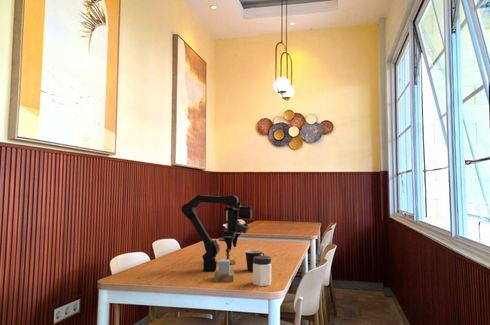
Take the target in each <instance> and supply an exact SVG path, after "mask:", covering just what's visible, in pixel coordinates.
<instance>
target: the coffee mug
mask: <svg viewBox="0 0 490 325" xmlns="http://www.w3.org/2000/svg"><path fill="white" fill-rule="evenodd" d="M255 256H265V254H264V252H262V251H261V250H256V249H254V250H253V249H250V250H245V259H246V260H245V261H246V268H247V272H249V273H253V258H254V257H255Z"/></svg>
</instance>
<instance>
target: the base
mask: <svg viewBox="0 0 490 325" xmlns="http://www.w3.org/2000/svg"><path fill="white" fill-rule="evenodd" d="M234 279H235V271H234V270H230V272H229V274H219V270H215V271H214V275H213V282H215V283H221V282H222V283H233V282H234V281H235V280H234Z"/></svg>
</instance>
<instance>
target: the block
mask: <svg viewBox="0 0 490 325" xmlns="http://www.w3.org/2000/svg"><path fill="white" fill-rule="evenodd" d="M230 260H231V259H230V258H229V259H227V258H226V259H223V258H222V259H218V271H219V274H229V272H230V271H231V270H230V267H231V265H230Z"/></svg>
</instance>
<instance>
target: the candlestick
mask: <svg viewBox="0 0 490 325" xmlns="http://www.w3.org/2000/svg"><path fill="white" fill-rule="evenodd" d="M227 206H228V205H227ZM228 207H230V206H228ZM225 211H226V215H225V216H226V218H225V219H226V220H225V223H226V221H227V210H225ZM225 226H226V229H227V223H226V225H225ZM226 229H225V230H226ZM218 241H219V242H224V243H226V242H225V240H224V238H223V237H218ZM225 253H226V254H225V256H226V259H230V253H231V250H229V249H228V246H227V245H226V249H225ZM232 265H233V266H234V265H236V260H231V259H230V266H232Z"/></svg>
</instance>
